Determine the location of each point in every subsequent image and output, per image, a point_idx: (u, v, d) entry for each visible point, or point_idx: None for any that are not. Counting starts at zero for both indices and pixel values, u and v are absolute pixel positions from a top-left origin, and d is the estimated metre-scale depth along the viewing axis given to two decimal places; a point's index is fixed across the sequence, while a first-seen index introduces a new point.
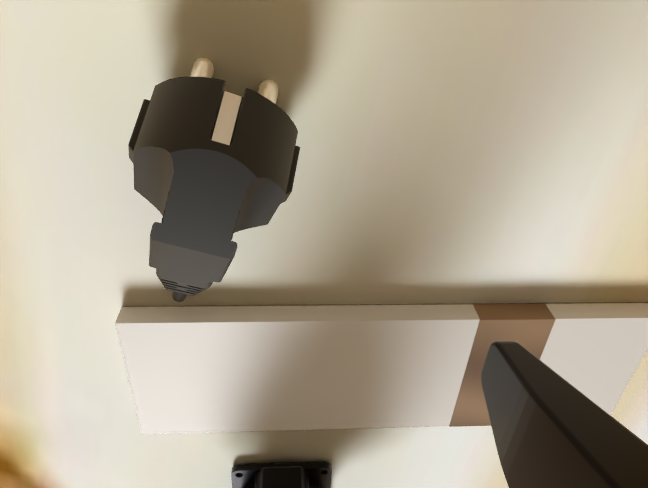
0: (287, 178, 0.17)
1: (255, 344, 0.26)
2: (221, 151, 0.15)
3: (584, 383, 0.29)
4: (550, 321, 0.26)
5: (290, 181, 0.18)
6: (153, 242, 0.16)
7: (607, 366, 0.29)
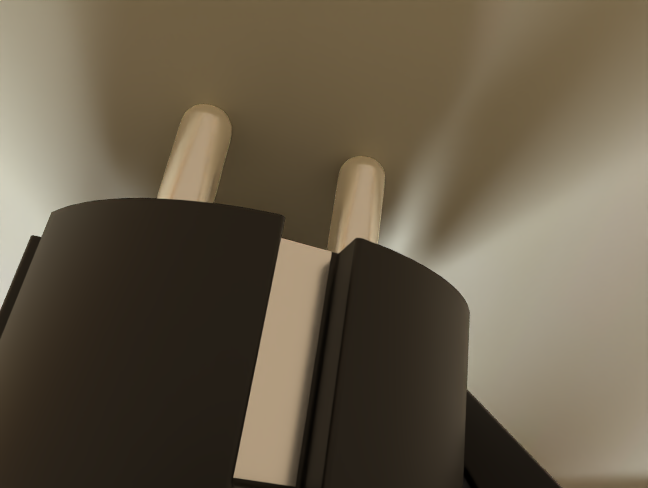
0: None
1: None
2: None
3: None
4: None
5: None
6: None
7: None
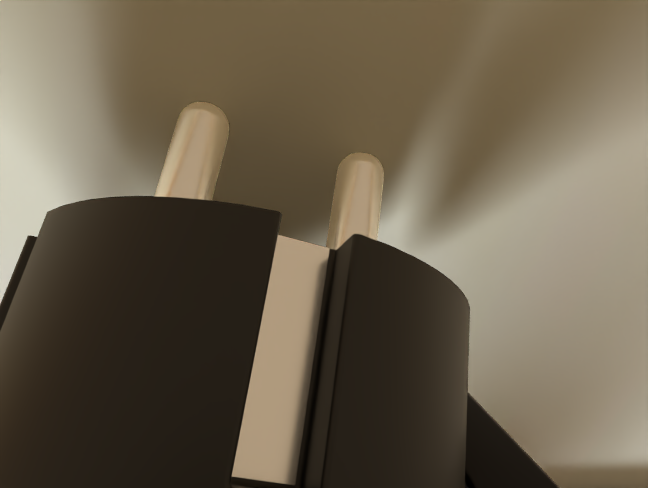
0: None
1: None
2: None
3: None
4: None
5: None
6: None
7: None
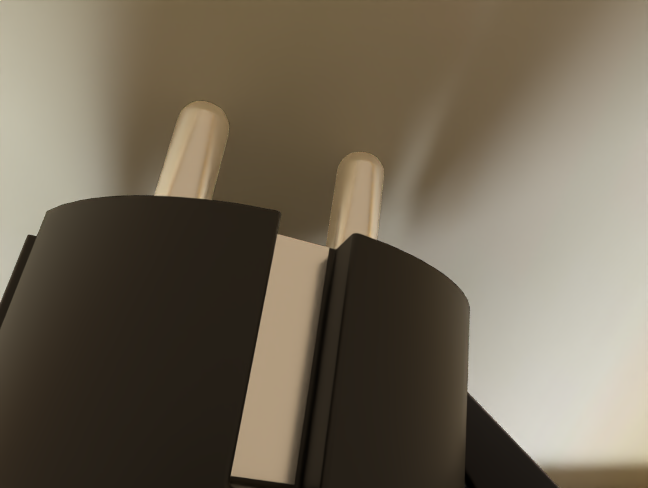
0: None
1: None
2: None
3: None
4: None
5: None
6: None
7: None
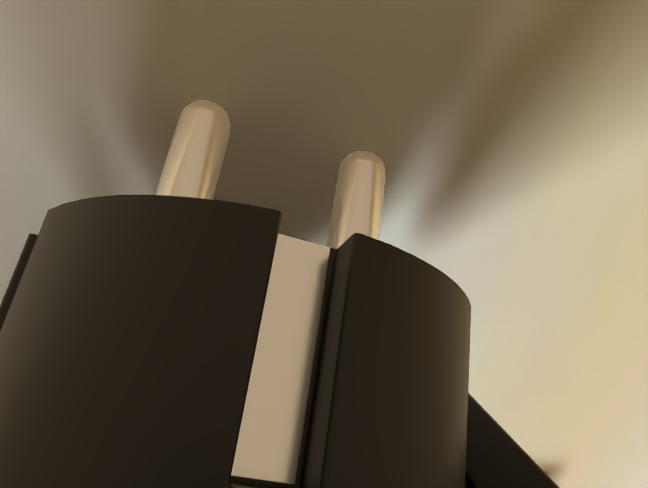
0: None
1: None
2: None
3: None
4: None
5: None
6: None
7: None
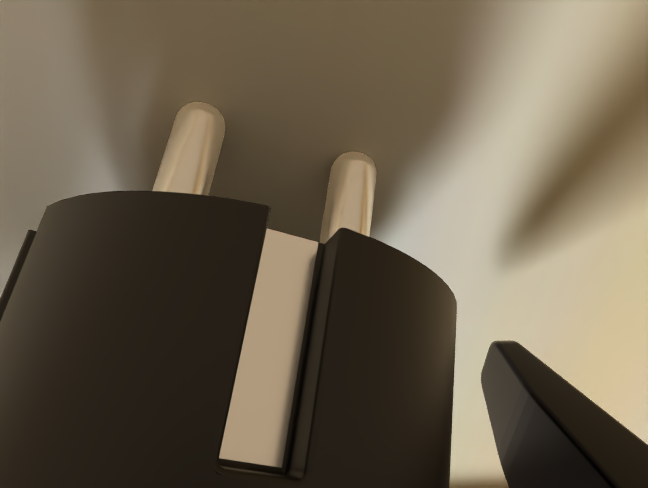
0: (449, 478, 0.06)
1: None
2: None
3: None
4: None
5: None
6: None
7: None
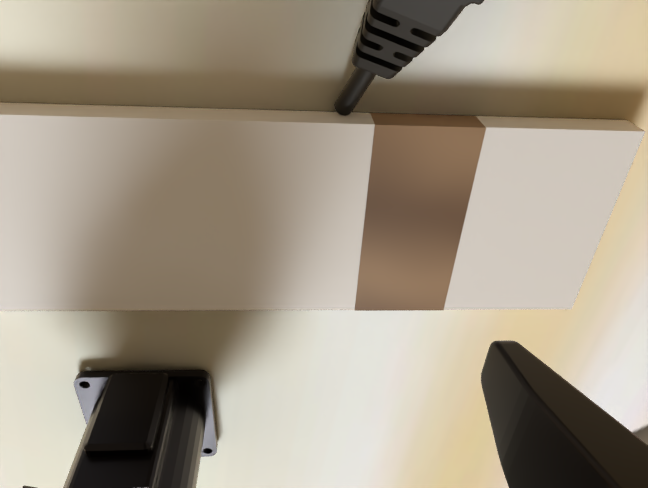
0: None
1: (47, 157, 0.18)
2: None
3: (536, 244, 0.21)
4: (479, 131, 0.18)
5: None
6: None
7: (566, 215, 0.21)
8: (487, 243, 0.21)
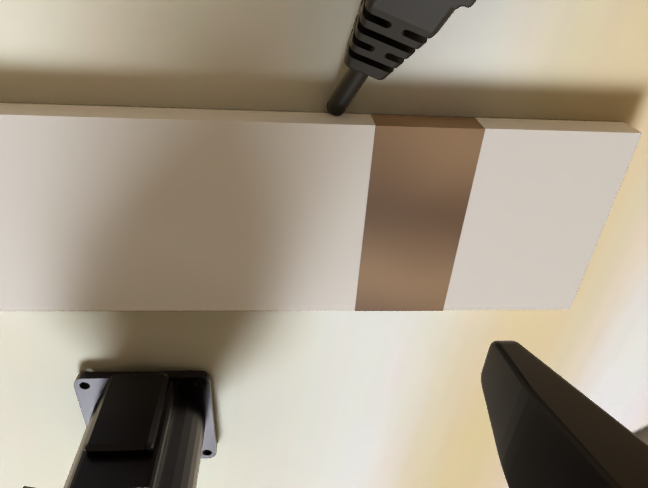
0: None
1: (51, 157, 0.18)
2: None
3: (535, 245, 0.21)
4: (478, 133, 0.19)
5: None
6: None
7: (564, 216, 0.21)
8: (486, 244, 0.21)
